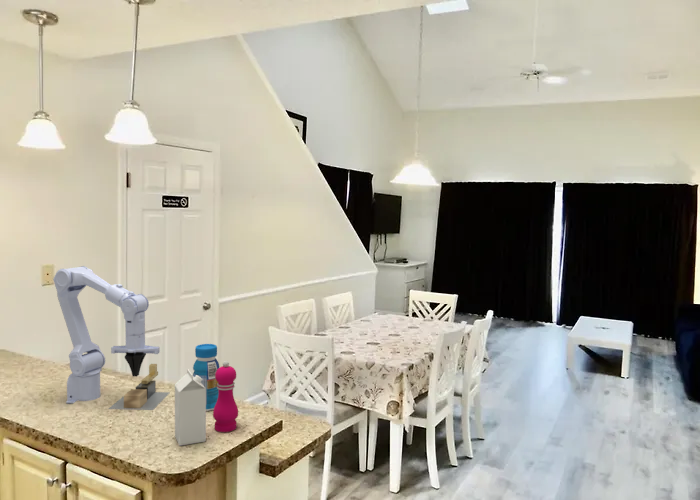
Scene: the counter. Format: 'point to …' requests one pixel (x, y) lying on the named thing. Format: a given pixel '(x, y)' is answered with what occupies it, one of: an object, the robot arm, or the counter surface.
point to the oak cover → (135, 398)
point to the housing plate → (146, 406)
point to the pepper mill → (225, 399)
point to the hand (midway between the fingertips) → (135, 375)
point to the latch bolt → (150, 374)
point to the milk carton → (190, 410)
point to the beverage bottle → (207, 372)
